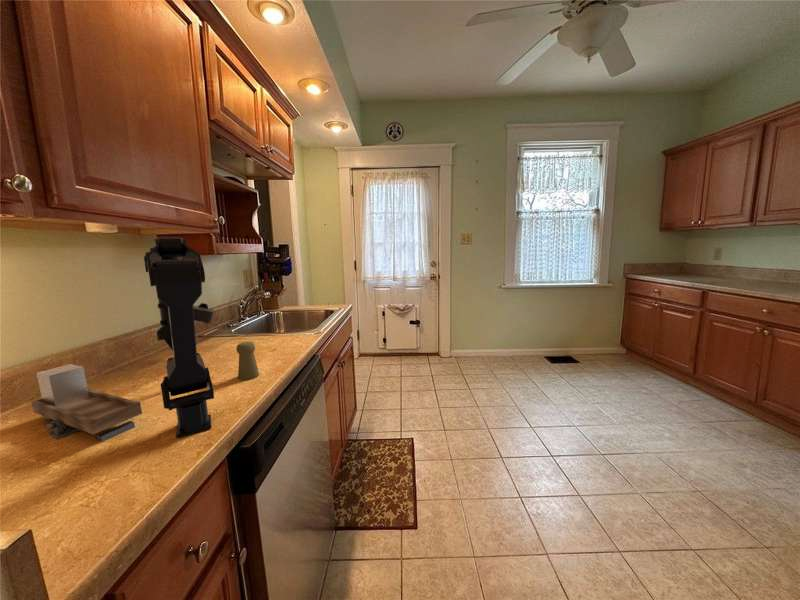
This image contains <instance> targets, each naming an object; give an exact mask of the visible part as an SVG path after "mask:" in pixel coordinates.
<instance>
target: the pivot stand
mask: <svg viewBox="0 0 800 600" xmlns="http://www.w3.org/2000/svg"><path fill="white" fill-rule="evenodd" d="M44 418H45V420H46V421H51V423H47V425H46V429H47V431H48V436H49V437H53V438H54V439H57V440H59V439H62V438H65V437H67V436H69V435H72V434H75V433H76V432H79V431H81V430H80V429H77V428H74V427H72V426H69V425H65V426H63V423H61V421H58V420H53V419H50V418H47V417H45V416H44ZM135 427H136V425H135V422H134V421H132V420H129V421H128V420H127V421H125V422H124V423H122V424H121V423H120V424H118V425H117V426H113V427H111V428H110V429H108V430H107V429H106V430H105V431H102V432H99V433H98V434H96V437H97V441H99V442H101V443H103V442H105V441H107V440H109V439H111V438H113V437H116V436H118V435H121V434H122V433H123V434H124V433H125V432H127V431H130V430H131V429H133V428H135Z"/></svg>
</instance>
